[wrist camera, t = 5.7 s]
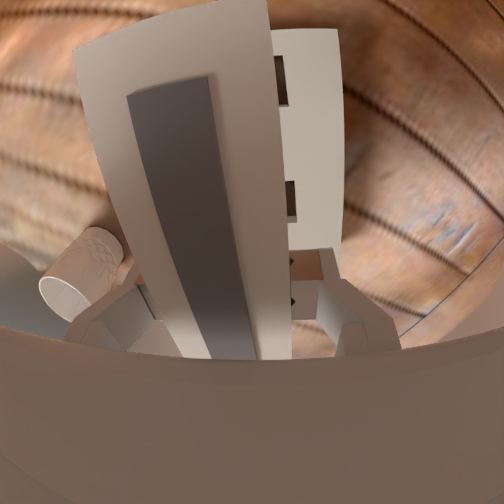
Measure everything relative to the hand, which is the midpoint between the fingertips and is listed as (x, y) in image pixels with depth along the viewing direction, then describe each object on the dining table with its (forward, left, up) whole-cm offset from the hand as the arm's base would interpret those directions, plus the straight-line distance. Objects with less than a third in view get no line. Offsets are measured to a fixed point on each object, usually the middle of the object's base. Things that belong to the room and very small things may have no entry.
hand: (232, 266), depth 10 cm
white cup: (+11, -22, -18) cm, 30 cm away
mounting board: (+2, +1, -17) cm, 18 cm away
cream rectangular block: (0, 0, -3) cm, 3 cm away
